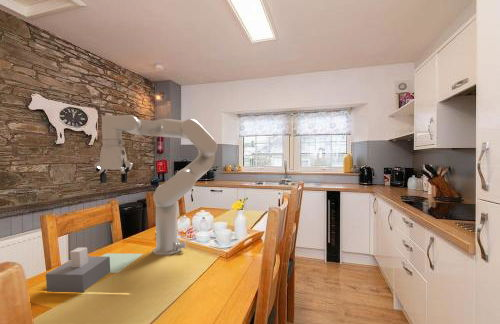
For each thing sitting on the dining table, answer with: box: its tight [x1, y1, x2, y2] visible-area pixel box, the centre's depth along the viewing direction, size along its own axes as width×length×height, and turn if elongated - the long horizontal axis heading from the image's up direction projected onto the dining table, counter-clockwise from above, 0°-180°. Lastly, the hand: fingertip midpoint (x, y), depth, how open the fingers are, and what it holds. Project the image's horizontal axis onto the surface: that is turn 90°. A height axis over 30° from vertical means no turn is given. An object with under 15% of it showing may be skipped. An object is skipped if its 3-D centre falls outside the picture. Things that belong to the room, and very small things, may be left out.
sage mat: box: [100, 252, 144, 274], centre depth 99 cm, size 18×18×1 cm
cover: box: [45, 247, 111, 294], centre depth 84 cm, size 13×13×12 cm
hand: (113, 182), depth 105 cm, fingers open, 9 cm apart
